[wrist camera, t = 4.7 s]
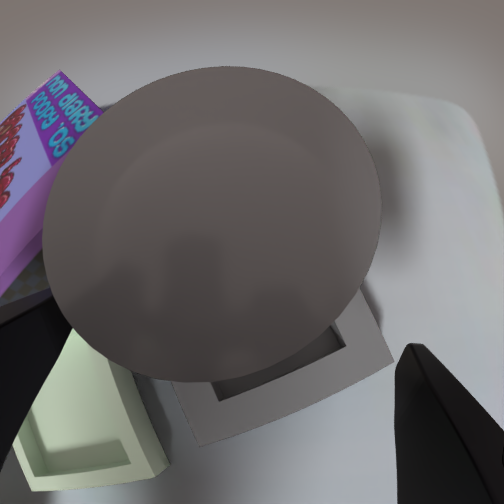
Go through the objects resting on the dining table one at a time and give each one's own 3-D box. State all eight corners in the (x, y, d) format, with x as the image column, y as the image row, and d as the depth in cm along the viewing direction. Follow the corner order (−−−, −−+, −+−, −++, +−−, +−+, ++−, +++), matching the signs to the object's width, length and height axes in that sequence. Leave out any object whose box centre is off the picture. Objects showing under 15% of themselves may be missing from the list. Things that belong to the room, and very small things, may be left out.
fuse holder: (379, 361, 16) (394, 361, 14) (210, 435, 15) (199, 447, 13) (301, 207, 19) (304, 186, 17) (147, 274, 19) (130, 262, 16)
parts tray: (170, 464, 15) (155, 477, 13) (52, 483, 14) (32, 491, 12) (110, 307, 18) (90, 300, 16) (9, 352, 18) (-13, 349, 15)
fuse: (320, 340, 16) (448, 272, 3) (232, 378, 15) (86, 428, 3) (280, 257, 17) (278, 40, 5) (197, 293, 17) (37, 144, 5)
